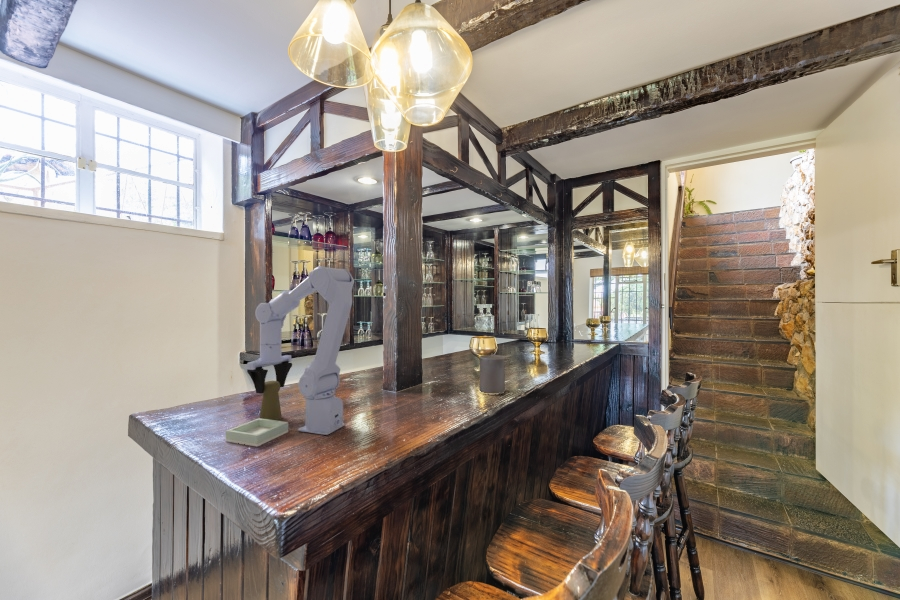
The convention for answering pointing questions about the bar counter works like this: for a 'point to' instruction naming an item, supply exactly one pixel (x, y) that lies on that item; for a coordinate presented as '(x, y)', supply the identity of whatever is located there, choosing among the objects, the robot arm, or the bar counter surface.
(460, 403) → the bar counter surface
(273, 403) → the olive pepper mill
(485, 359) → the pillar candle
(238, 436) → the tray
